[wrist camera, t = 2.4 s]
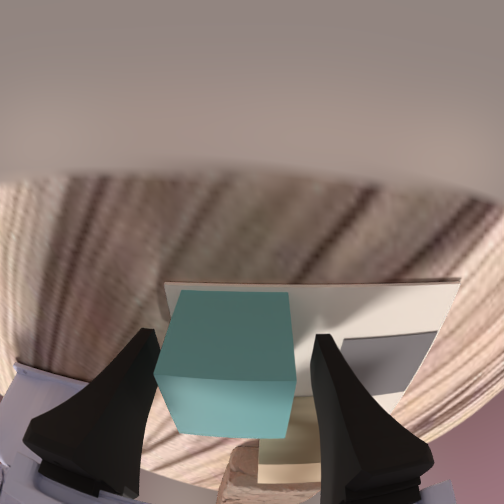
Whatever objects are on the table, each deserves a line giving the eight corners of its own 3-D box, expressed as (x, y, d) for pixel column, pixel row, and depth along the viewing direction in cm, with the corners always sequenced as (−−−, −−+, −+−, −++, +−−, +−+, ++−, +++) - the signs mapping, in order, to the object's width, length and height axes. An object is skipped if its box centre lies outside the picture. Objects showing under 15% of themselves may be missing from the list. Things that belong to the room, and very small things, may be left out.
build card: (201, 423, 19) (200, 427, 19) (164, 281, 13) (163, 285, 12) (386, 417, 19) (386, 420, 19) (458, 281, 12) (461, 284, 12)
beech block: (259, 427, 19) (257, 483, 15) (260, 396, 16) (258, 464, 13) (322, 426, 19) (326, 480, 15) (334, 395, 16) (343, 460, 12)
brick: (231, 442, 21) (227, 491, 17) (325, 446, 22) (329, 492, 18) (217, 483, 30) (214, 514, 26) (280, 487, 30) (280, 517, 26)
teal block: (194, 358, 15) (179, 433, 11) (181, 289, 13) (153, 373, 9) (281, 360, 15) (284, 438, 11) (288, 292, 12) (296, 381, 9)
